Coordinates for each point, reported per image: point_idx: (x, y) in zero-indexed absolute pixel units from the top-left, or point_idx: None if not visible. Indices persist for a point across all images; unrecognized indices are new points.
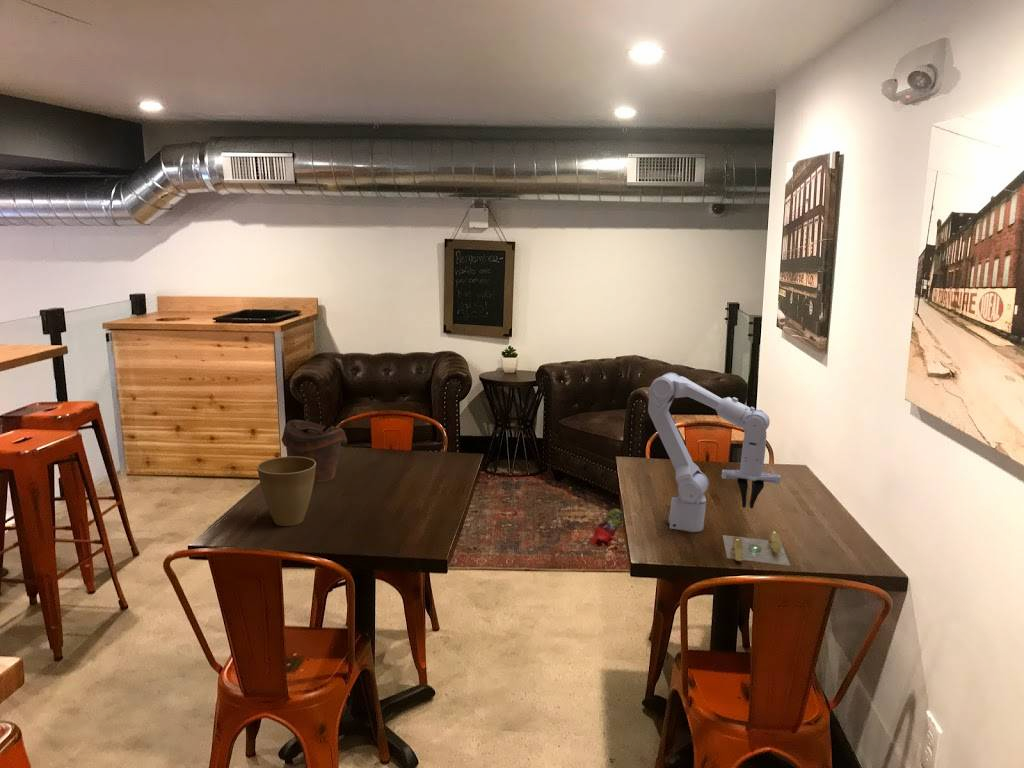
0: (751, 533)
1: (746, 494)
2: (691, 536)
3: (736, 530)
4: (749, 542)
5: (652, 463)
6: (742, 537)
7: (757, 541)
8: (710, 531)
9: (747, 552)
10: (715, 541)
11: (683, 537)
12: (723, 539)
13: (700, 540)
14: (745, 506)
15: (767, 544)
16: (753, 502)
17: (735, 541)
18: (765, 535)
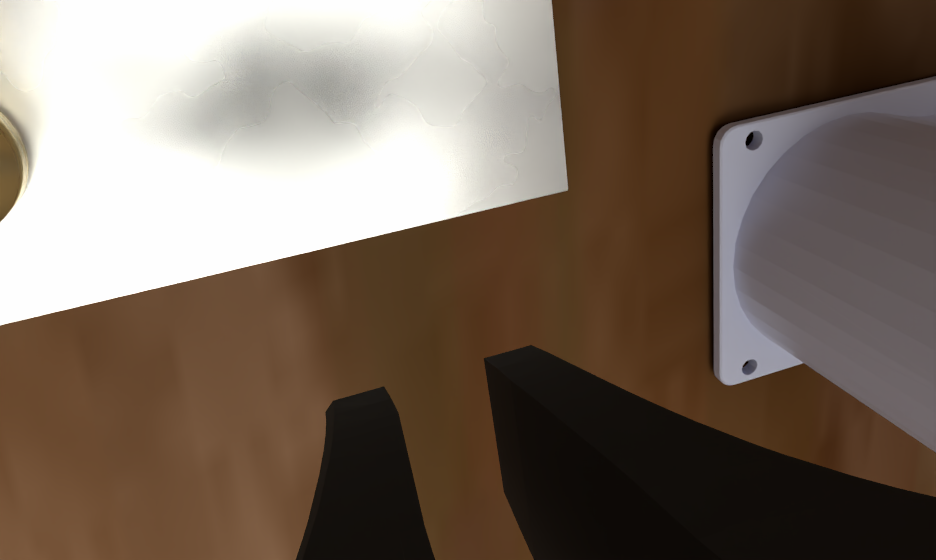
0: (288, 472)
1: (671, 512)
2: (823, 82)
3: (433, 459)
4: (262, 118)
5: None
6: (360, 236)
7: (173, 203)
8: (656, 302)
9: None
10: (613, 65)
11: (893, 16)
12: (556, 61)
13: (751, 16)
14: (495, 364)
15: (21, 144)
16: (349, 465)
17: None
18: (142, 504)
